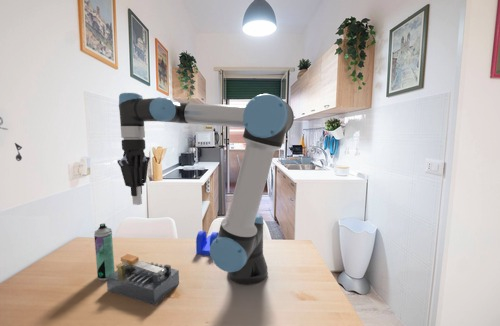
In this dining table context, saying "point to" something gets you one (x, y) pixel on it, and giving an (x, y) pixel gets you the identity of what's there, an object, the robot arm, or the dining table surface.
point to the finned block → (142, 283)
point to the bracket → (204, 242)
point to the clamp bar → (142, 265)
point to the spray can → (104, 252)
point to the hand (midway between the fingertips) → (137, 204)
